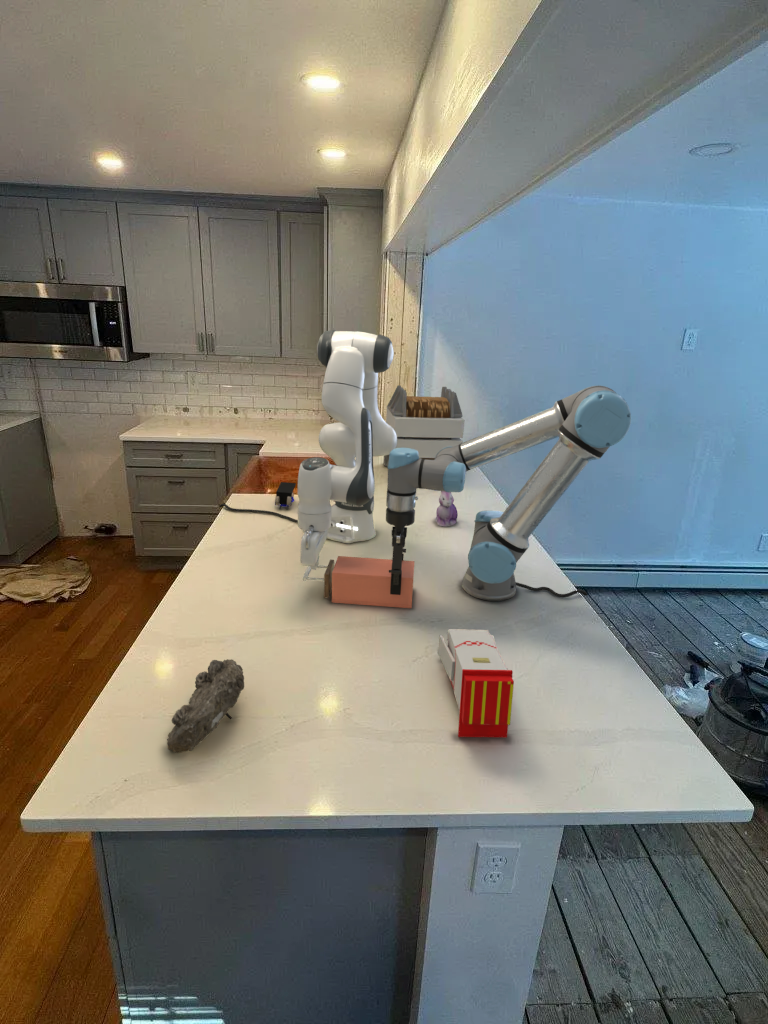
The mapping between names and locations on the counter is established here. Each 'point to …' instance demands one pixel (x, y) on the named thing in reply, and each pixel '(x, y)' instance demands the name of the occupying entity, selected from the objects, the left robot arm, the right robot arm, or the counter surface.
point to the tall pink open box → (370, 582)
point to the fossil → (206, 705)
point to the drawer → (326, 579)
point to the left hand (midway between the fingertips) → (314, 567)
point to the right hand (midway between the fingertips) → (396, 584)
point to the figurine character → (285, 494)
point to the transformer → (425, 422)
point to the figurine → (446, 510)
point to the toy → (478, 682)
